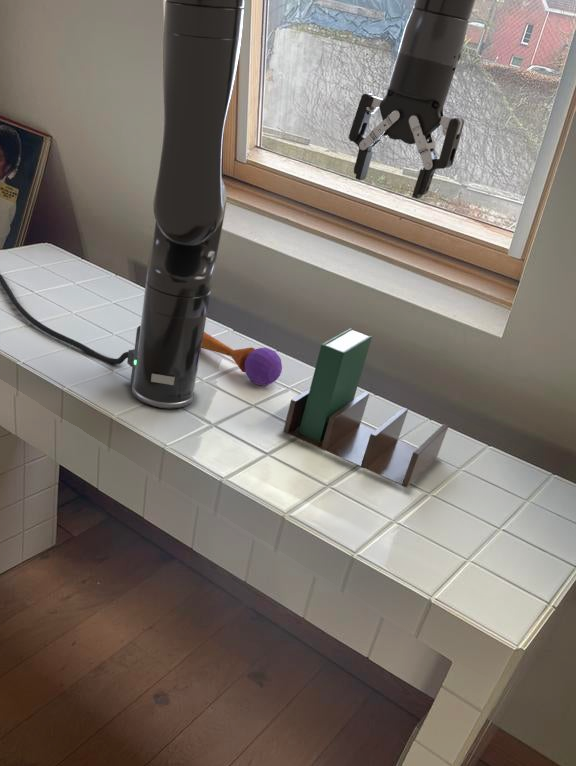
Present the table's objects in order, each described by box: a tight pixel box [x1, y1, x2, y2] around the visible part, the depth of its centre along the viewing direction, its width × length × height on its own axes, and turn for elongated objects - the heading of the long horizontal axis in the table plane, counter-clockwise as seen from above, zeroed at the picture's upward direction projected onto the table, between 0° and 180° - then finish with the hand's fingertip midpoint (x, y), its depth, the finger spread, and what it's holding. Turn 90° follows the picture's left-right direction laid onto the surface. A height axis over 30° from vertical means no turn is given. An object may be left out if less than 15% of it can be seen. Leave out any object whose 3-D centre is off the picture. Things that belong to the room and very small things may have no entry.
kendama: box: [201, 331, 283, 386], centre depth 136 cm, size 6×6×20 cm
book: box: [299, 327, 373, 442], centre depth 119 cm, size 4×10×14 cm, turn 145°
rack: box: [283, 387, 449, 488], centre depth 119 cm, size 20×12×6 cm, turn 55°
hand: (388, 188), depth 112 cm, fingers open, 8 cm apart
